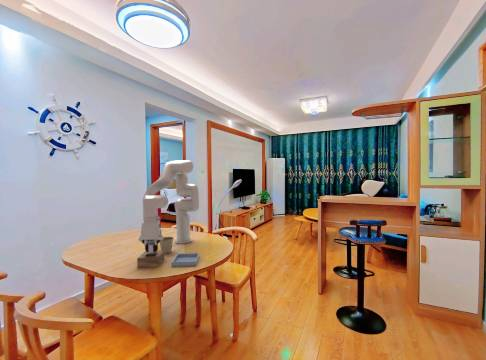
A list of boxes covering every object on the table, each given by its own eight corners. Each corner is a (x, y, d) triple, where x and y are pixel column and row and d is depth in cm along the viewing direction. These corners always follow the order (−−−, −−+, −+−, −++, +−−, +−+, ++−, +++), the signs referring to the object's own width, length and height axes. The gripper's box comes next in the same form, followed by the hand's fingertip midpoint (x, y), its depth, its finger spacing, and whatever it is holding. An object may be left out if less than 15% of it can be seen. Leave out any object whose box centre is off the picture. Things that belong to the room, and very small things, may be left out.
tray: (177, 257, 135) (177, 253, 135) (199, 257, 136) (199, 253, 136) (171, 266, 122) (171, 262, 122) (196, 265, 123) (195, 261, 123)
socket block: (145, 259, 132) (145, 251, 132) (164, 259, 133) (164, 250, 133) (137, 267, 121) (137, 258, 121) (158, 267, 122) (158, 257, 122)
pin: (149, 259, 130) (148, 239, 130) (157, 259, 130) (157, 238, 130) (145, 263, 125) (145, 241, 125) (155, 263, 125) (154, 241, 125)
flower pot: (157, 255, 139) (157, 241, 139) (159, 250, 149) (158, 237, 148) (173, 253, 142) (173, 240, 142) (174, 249, 151) (173, 236, 151)
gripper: (167, 217, 131) (168, 248, 132) (138, 218, 130) (139, 249, 131) (163, 220, 123) (164, 253, 124) (132, 220, 123) (133, 254, 123)
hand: (151, 251), depth 127 cm, fingers closed on pin, 3 cm apart
